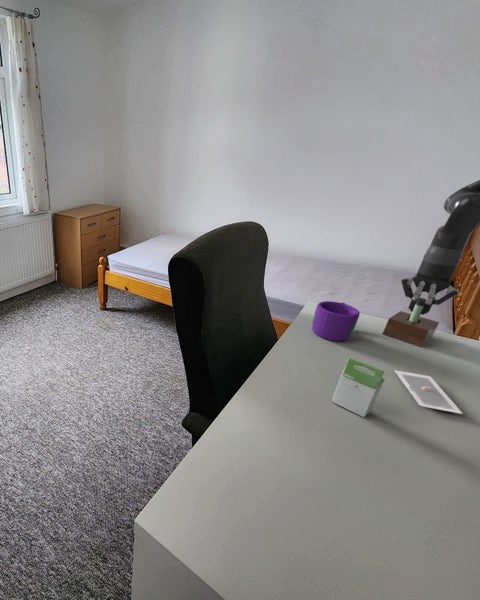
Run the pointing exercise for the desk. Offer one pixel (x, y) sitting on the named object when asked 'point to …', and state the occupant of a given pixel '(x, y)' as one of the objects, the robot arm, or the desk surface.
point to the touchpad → (427, 392)
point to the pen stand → (410, 329)
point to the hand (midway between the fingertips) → (417, 312)
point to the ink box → (358, 387)
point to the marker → (417, 310)
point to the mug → (334, 320)
